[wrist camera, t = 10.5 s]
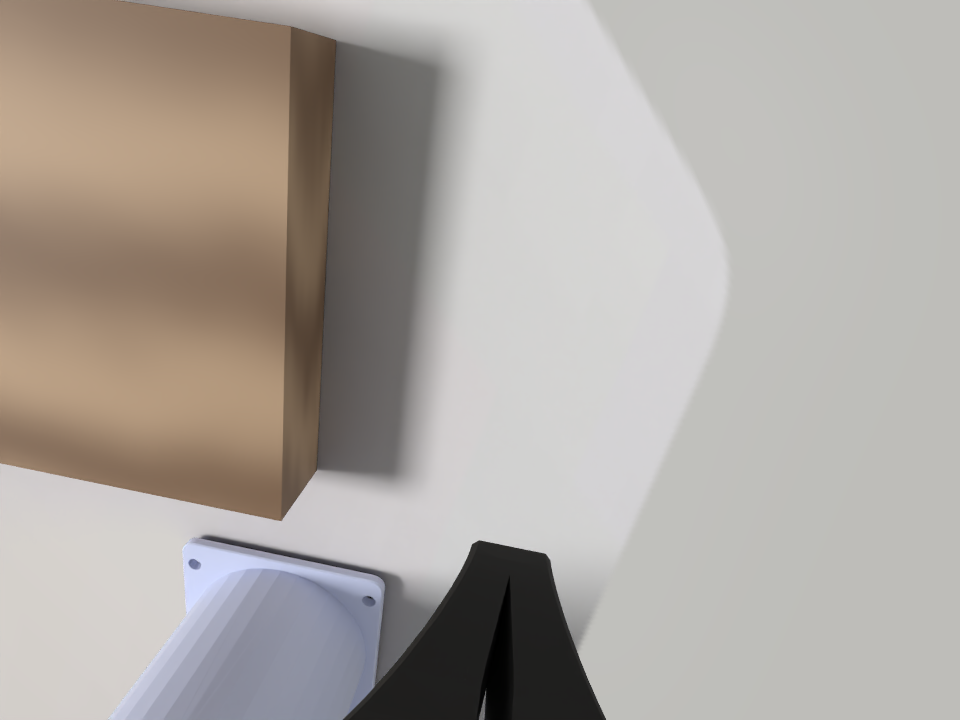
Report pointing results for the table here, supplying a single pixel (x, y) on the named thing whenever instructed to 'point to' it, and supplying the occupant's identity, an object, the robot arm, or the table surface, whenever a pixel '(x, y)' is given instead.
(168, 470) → the walnut plate
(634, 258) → the table surface
